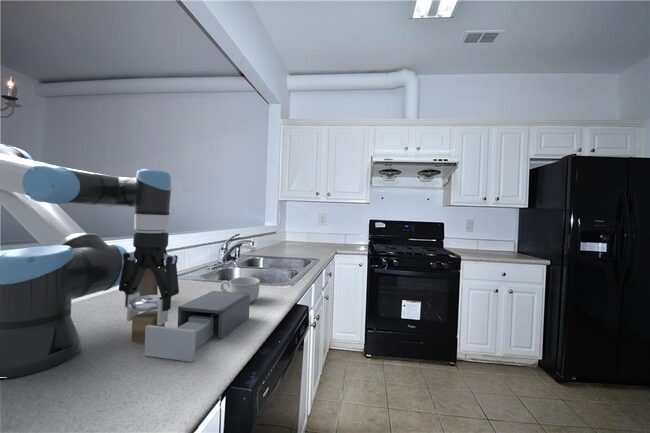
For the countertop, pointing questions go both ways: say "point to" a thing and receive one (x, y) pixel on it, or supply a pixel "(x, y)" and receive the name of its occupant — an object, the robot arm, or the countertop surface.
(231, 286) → the teacup
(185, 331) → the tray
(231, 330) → the drawer casing
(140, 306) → the disc
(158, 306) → the robot arm
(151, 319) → the walnut block
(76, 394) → the countertop surface
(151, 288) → the pillar candle
